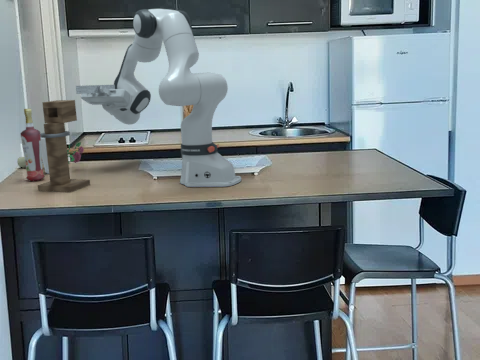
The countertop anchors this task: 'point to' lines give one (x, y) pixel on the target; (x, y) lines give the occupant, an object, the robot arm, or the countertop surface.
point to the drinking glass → (44, 155)
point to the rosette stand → (59, 146)
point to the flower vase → (75, 156)
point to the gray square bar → (91, 88)
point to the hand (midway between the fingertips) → (95, 88)
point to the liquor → (32, 149)
